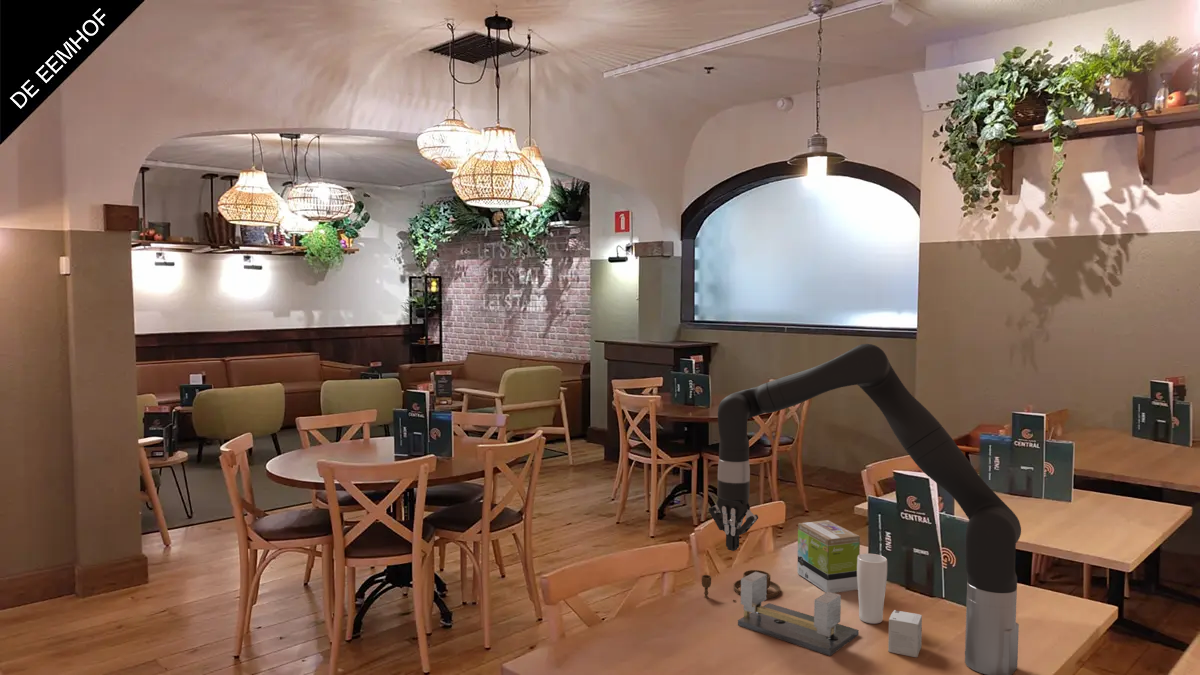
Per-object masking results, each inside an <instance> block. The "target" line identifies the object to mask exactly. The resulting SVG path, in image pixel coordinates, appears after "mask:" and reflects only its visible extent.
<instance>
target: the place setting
mask: <svg viewBox="0 0 1200 675" xmlns="http://www.w3.org/2000/svg"><path fill="white" fill-rule="evenodd" d="M754 572H759V573H763V574H766V575H767V590H768V589H769V588H773V590H775V592H772V593H766V600H767V599H773V598H775V597H777V596H778V595H779V594H780V592H781V586H780V585H779V584H777V583H776V582H774V581H772V580H771V574H770V573H768V572H766V571H764V570H758V569H751V570H746V571H744V572H743V574H742V575H743V576H742V578H743V577H746V576H748V575H750V574H752V573H754ZM711 585H712V575H709V574H703V575H701V586H702V587H703V588H704V592H703V594H704V596H703V598H704V599H709V596H708V595H709V588H710V587H711ZM740 585H741V579H738V580H736V581H735V582H734V583H733V590H734V591H735V593H736V594H738V595H740V596H741V589H738V588H739V587H741V586H740ZM732 602H733V603H737V599H732Z"/></svg>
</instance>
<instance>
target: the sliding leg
mask: <svg viewBox="0 0 1200 675" xmlns="http://www.w3.org/2000/svg"><path fill="white" fill-rule="evenodd" d="M740 580H741V586H740V591H741V595H740V605H742V606H743V611H744V610H745V611H749V612H750V613H756V605H759V606H762V603H763V602H765V601H766V600H767V599H766V594H767V590H768V589H767V575H766V574H763V573H759V572H754V573H752V574H750V575H748V576H746V577H743V576H742V578H740ZM757 614H761V613H758V612H757Z"/></svg>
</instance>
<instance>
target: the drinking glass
mask: <svg viewBox="0 0 1200 675" xmlns="http://www.w3.org/2000/svg"><path fill="white" fill-rule="evenodd" d="M887 579H888V559H887V558H886V557H885V556H883V555H881V554H877V553H860V555H858V557H857V585H858V589H857V595H858V596H857V598H858V618H859V620H860V621H862V622H864V623H867V624H871V625H874V624H875V625H876V624H880V623H881V622H883V618H884V617H883V616H884V606H885V605H884V604H885V596H886V590H887V588H886V586H887V581H888V580H887Z"/></svg>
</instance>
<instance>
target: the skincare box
mask: <svg viewBox="0 0 1200 675" xmlns="http://www.w3.org/2000/svg"><path fill="white" fill-rule="evenodd" d="M922 620H923V615H922V614H919V613H914V612H907V611H902V610H896V609H894V610H893V611H892V612H891V614H890V616H889V618H888V641H887V642H888V644H887V645H888V647H887V648H888V649H887V651H888V652H889V653H893V654H898V655H903V656H907V657H912V658H918V657H919V653H920V651H921V649H922V638H923V637H922V633H923V632H922V631H923V630H922V628H923V627H922V626H923V625H922V624H923V621H922Z"/></svg>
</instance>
